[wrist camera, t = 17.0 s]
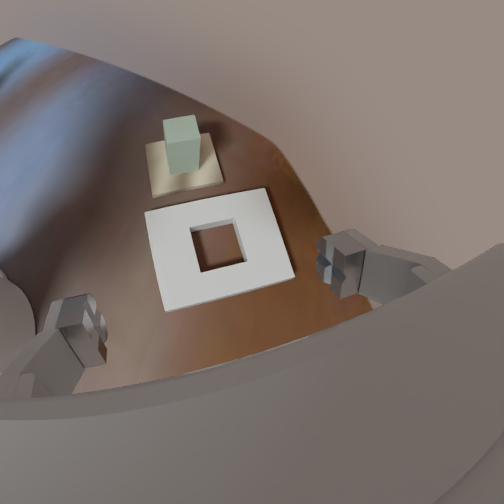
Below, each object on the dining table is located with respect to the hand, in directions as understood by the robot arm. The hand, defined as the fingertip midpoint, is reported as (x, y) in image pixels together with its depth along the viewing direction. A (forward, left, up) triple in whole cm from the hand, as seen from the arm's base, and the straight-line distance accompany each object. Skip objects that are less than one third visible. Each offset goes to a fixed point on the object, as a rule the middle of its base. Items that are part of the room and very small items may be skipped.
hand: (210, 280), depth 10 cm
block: (+3, +24, -29) cm, 38 cm away
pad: (+3, +24, -29) cm, 38 cm away
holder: (+5, +9, -29) cm, 31 cm away
